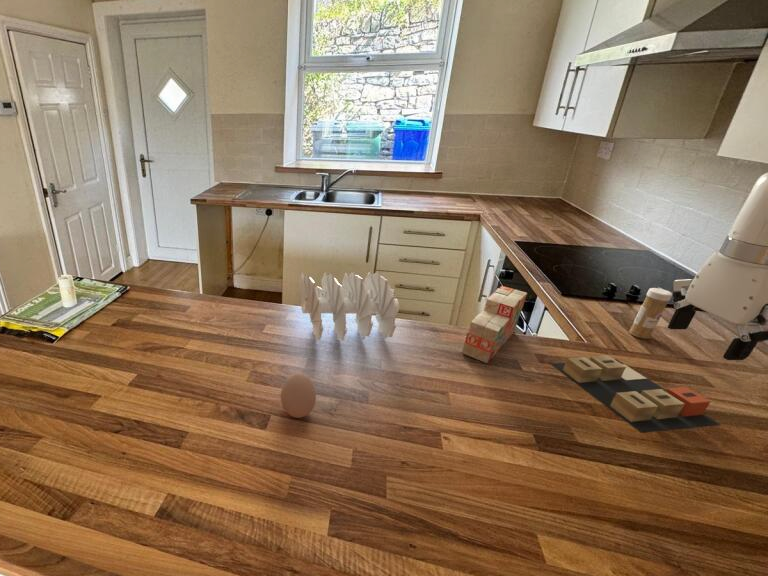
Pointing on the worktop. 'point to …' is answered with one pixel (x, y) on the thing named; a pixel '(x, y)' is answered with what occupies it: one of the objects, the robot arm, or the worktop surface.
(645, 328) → the sprinkles bottle
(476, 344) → the stack of blocks
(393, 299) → the white pleated sculpture
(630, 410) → the word tiles
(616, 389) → the letter mat
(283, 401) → the egg
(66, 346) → the worktop surface
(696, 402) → the orange toy block
